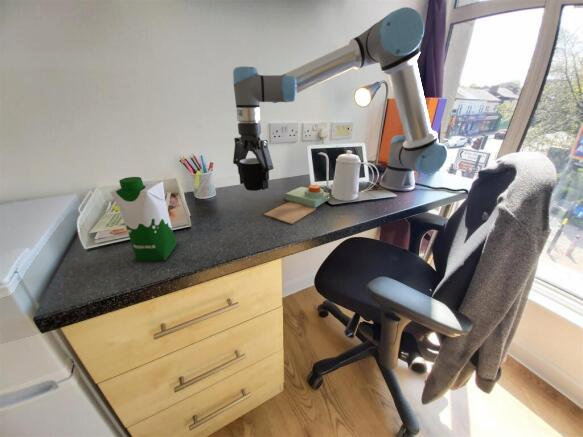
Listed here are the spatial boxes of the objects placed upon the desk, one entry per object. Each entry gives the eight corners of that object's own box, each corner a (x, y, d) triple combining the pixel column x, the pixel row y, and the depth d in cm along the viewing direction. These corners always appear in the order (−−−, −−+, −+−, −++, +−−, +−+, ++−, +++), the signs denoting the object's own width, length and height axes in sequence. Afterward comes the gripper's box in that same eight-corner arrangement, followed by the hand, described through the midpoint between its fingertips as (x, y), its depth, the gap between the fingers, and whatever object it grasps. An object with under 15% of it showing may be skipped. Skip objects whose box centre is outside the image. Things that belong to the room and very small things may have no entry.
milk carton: (130, 263, 56) (101, 182, 48) (149, 243, 64) (127, 171, 56) (167, 262, 57) (145, 182, 48) (182, 242, 65) (165, 171, 56)
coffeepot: (320, 188, 108) (322, 145, 100) (376, 197, 97) (384, 151, 89) (310, 195, 99) (312, 149, 91) (371, 206, 89) (379, 156, 81)
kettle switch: (322, 191, 92) (322, 186, 91) (316, 194, 89) (316, 188, 88) (312, 188, 94) (312, 183, 94) (306, 191, 91) (306, 186, 90)
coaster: (316, 209, 86) (316, 208, 86) (291, 224, 75) (291, 223, 75) (289, 202, 92) (289, 201, 92) (263, 214, 82) (263, 213, 81)
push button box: (329, 199, 95) (330, 188, 93) (315, 208, 87) (315, 196, 85) (300, 192, 103) (301, 182, 101) (285, 199, 95) (285, 189, 93)
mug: (269, 190, 85) (268, 161, 81) (245, 193, 82) (242, 164, 77) (260, 181, 95) (258, 155, 91) (238, 183, 92) (235, 157, 87)
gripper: (217, 121, 82) (225, 182, 91) (267, 124, 69) (270, 194, 79) (234, 120, 87) (240, 178, 97) (283, 122, 75) (284, 189, 84)
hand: (253, 185), depth 88 cm, fingers closed on mug, 10 cm apart
